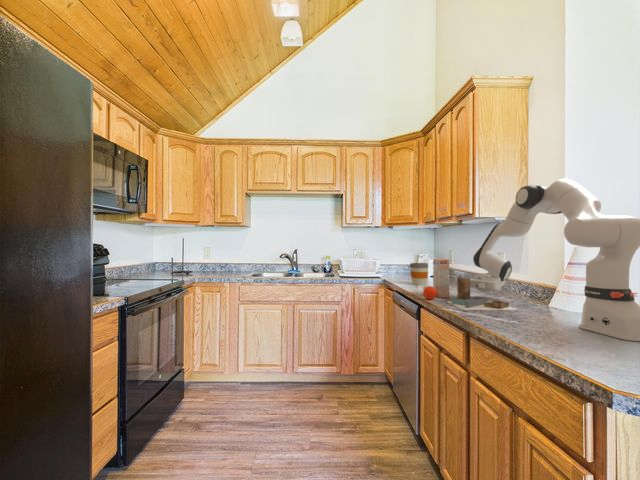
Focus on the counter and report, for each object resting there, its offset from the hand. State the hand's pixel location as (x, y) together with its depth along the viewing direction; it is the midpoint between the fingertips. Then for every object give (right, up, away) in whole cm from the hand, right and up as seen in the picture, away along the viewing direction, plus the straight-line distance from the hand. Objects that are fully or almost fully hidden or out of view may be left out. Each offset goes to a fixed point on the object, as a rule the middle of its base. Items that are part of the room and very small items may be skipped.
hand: (467, 284), depth 153 cm
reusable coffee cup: (0, -11, +75) cm, 76 cm away
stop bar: (-3, -9, -2) cm, 9 cm away
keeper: (+8, -8, -10) cm, 15 cm away
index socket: (-3, -10, -2) cm, 10 cm away
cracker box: (-3, -10, +25) cm, 27 cm away
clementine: (-13, -10, +15) cm, 23 cm away
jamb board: (+2, -10, -6) cm, 12 cm away
